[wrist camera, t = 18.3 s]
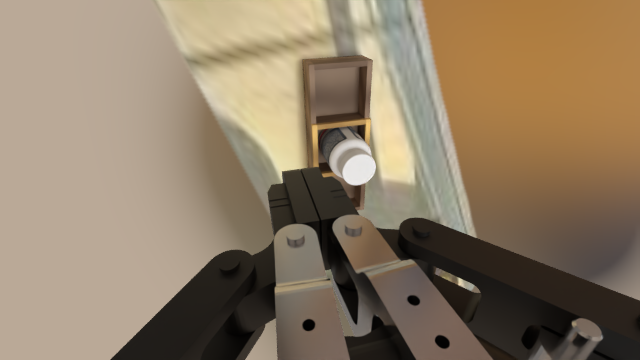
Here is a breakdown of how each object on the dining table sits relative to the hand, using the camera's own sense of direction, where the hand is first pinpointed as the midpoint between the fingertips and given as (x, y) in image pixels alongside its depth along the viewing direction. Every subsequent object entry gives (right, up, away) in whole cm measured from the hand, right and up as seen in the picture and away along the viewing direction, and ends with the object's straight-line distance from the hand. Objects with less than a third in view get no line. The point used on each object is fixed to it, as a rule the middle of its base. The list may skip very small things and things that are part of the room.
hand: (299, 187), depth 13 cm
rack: (+3, +6, +29) cm, 30 cm away
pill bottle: (+3, +6, +29) cm, 29 cm away
